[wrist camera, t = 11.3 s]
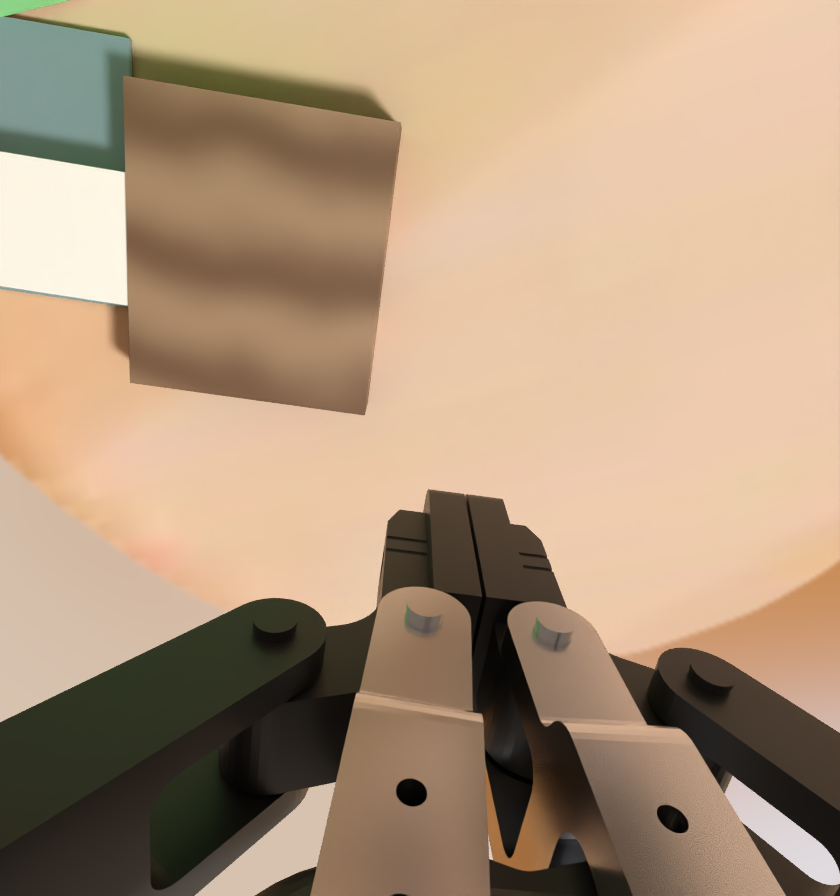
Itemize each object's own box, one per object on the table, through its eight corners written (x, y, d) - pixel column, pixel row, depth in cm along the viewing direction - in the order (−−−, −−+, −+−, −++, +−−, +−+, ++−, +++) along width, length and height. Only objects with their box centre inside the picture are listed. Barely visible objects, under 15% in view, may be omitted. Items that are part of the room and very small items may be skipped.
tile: (-44, 143, 34) (-71, 139, 32) (141, 174, 34) (126, 172, 32) (-31, 274, 36) (-55, 277, 34) (142, 300, 37) (127, 305, 35)
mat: (-86, 2, 32) (-92, -1, 31) (131, 39, 32) (128, 37, 32) (-51, 279, 36) (-56, 280, 36) (136, 307, 37) (133, 308, 37)
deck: (143, 84, 33) (123, 75, 31) (401, 128, 34) (400, 122, 31) (147, 372, 39) (130, 382, 36) (367, 403, 39) (364, 415, 37)
